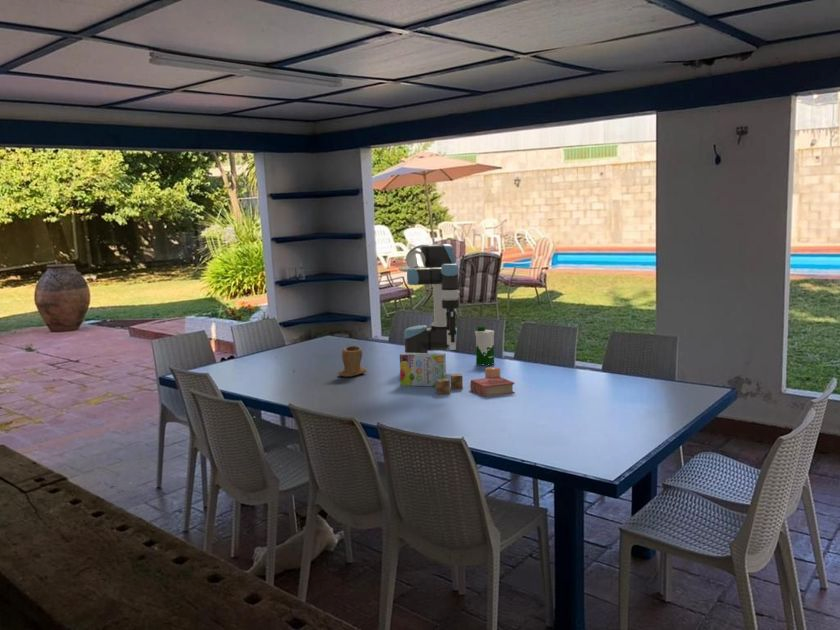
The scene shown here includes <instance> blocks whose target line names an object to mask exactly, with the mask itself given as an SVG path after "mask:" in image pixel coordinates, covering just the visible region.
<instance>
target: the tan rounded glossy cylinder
mask: <svg viewBox="0 0 840 630" xmlns="http://www.w3.org/2000/svg"><path fill="white" fill-rule="evenodd" d="M493 377H501V367H497V366H489V367H488V366H487V367H485V369H484V378H493Z"/></svg>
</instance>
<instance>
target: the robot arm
mask: <svg viewBox="0 0 840 630" xmlns="http://www.w3.org/2000/svg"><path fill="white" fill-rule="evenodd" d="M454 250H455V249H454V247H453V245H452V244H449V243H435V244H433V243H432V244H419V245H417V246H415V247H413V248H411V249H410V250H409V251H408V252H407V254H406V257H405V262H406V265H407V267H409V268H407V270H406V282H407V283H406V284H407V285H409V286H422V285H423V286H425V285H432V286H433V287H432V289H433V293H432V294H433V318H434V319H433V322H432V323H430V325H431V326H430V327H428V326H427V325H426V324H419V325H414V326H410V327H407V328H406V329H404V338H403V339H404V353H429V352H431V351H432V352H433V351H434V352H435V351H454V350H457V338H458V328H457V326H456V314H457V313H456V311H454V310H455V309H459V308H460V300H459V299H460V298H459V297H460V295H459V294H460V293H461V292H460V290H459V273H460V270H459V265H458V264H457V263H456V253H455V251H454Z"/></svg>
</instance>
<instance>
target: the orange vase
mask: <svg viewBox="0 0 840 630" xmlns="http://www.w3.org/2000/svg"><path fill="white" fill-rule="evenodd" d="M362 358H363V349H362V347H360V346H358V345H348V346H346V347H344V348H343V349H342V352H341V360H342V363H343V367H344V369H343V370H340V371H338V372H337V375H338V376H341V377H349V378H350V377H353V376H357V375H361V374H364V373H366V372H368V371H367V369H366V368H365V367H364V366H363V365H361V362H362V361H361V360H362Z"/></svg>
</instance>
